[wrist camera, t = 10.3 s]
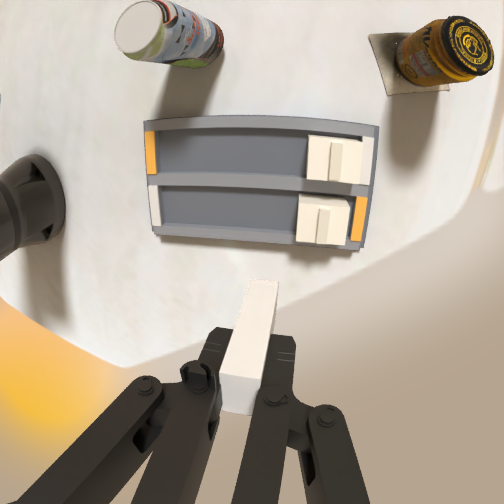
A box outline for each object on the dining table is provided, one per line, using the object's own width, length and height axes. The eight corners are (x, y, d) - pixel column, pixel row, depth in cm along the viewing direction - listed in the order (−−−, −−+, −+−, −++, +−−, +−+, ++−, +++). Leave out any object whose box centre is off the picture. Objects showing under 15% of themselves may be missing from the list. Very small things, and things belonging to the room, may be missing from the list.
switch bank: (156, 227, 36) (148, 235, 34) (148, 120, 30) (138, 121, 28) (361, 243, 33) (365, 252, 31) (376, 126, 27) (382, 126, 25)
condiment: (449, 90, 23) (510, 86, 12) (387, 95, 25) (433, 86, 14) (431, 32, 20) (484, 6, 9) (367, 35, 22) (401, -3, 11)
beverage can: (235, 55, 26) (199, 24, 15) (177, 83, 28) (118, 73, 17) (214, 13, 23) (171, -28, 13) (159, 43, 26) (98, 21, 15)
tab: (296, 228, 32) (295, 244, 28) (299, 193, 30) (298, 205, 26) (340, 231, 31) (345, 249, 27) (344, 197, 30) (351, 210, 26)
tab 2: (306, 172, 29) (307, 180, 25) (308, 134, 27) (309, 137, 23) (352, 176, 28) (360, 186, 24) (355, 139, 27) (365, 143, 23)
